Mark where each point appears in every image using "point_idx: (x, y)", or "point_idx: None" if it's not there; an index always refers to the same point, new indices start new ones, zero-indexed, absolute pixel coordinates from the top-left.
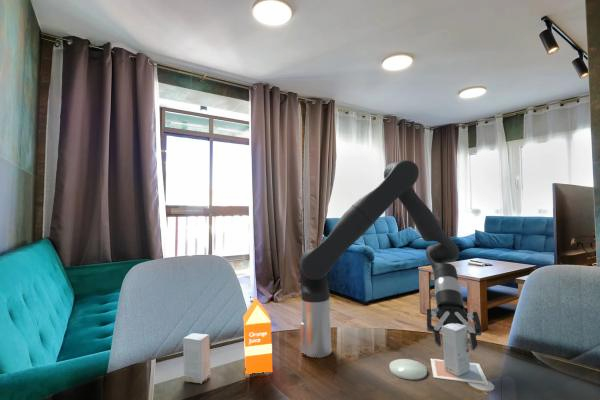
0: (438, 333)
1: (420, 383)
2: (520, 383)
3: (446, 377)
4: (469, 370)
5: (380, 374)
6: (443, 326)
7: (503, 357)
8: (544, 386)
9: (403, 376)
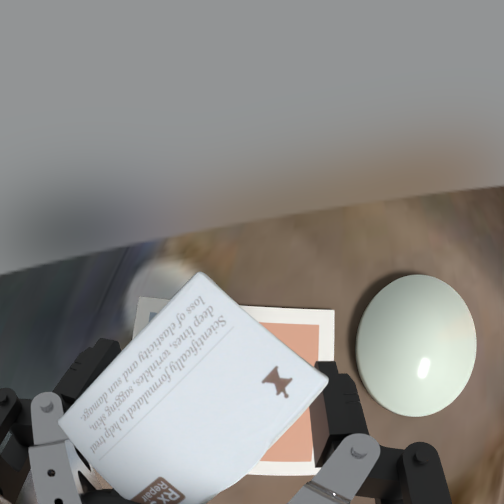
0: (336, 417)
1: (377, 261)
2: (49, 318)
3: (284, 316)
4: None
5: (482, 289)
6: (312, 376)
7: None
8: (11, 307)
9: (430, 277)
